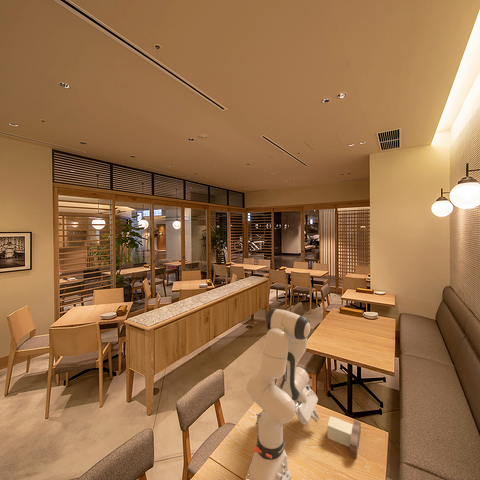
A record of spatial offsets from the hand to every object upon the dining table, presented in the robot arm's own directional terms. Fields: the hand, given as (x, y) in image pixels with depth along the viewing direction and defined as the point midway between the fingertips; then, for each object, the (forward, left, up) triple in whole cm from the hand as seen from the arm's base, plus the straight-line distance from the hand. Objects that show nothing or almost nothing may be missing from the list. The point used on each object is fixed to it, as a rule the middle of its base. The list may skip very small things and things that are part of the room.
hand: (317, 419), depth 131 cm
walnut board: (0, -18, -5) cm, 19 cm away
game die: (-13, +26, -5) cm, 29 cm away
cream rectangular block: (0, -11, -5) cm, 12 cm away
